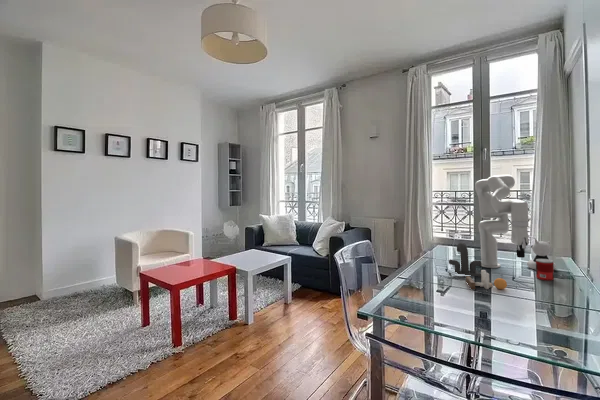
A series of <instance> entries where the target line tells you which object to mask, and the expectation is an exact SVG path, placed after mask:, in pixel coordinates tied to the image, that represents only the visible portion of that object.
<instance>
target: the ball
mask: <svg viewBox="0 0 600 400" xmlns="http://www.w3.org/2000/svg"><path fill="white" fill-rule="evenodd" d="M493 281H494V282H493V285H494V287H495V288H496V289H498V290H505V289H506V288H507V287H508V283H507V280H506V279H504V278H501V277H497V278H495V280H493Z"/></svg>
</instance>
